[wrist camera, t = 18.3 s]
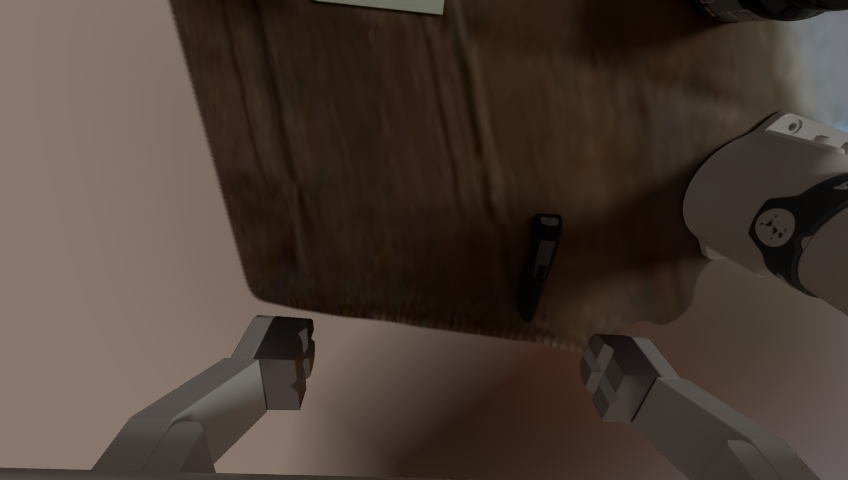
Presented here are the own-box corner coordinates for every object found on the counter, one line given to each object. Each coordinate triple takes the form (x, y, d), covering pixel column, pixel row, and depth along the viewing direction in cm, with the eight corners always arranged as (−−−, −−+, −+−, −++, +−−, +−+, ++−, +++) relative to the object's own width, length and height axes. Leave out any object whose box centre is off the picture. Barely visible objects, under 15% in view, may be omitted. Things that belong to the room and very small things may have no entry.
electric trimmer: (509, 308, 54) (514, 323, 52) (532, 212, 47) (540, 223, 44) (534, 309, 55) (540, 324, 52) (561, 213, 47) (571, 225, 44)
